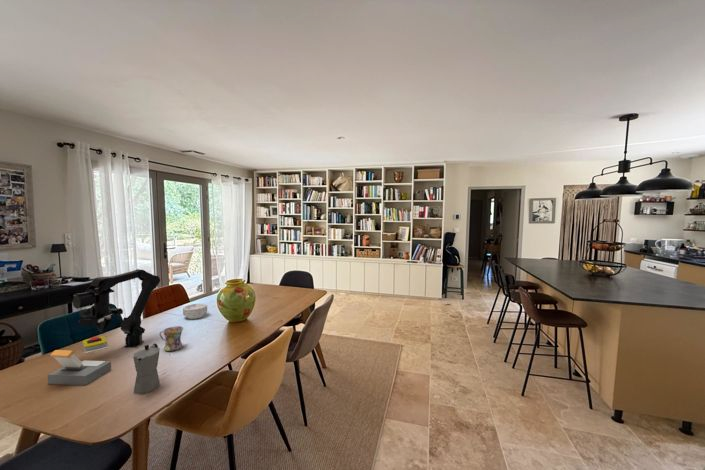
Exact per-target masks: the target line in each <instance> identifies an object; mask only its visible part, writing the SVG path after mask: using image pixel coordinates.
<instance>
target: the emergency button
mask: <svg viewBox="0 0 705 470" xmlns="http://www.w3.org/2000/svg"><path fill="white" fill-rule="evenodd" d="M107 342H108V341H107V339H106V336H105V335H102V336H95V337H92V338H87V339H84V340H82V349H83V354H88V353H92V352H96V351H101V350H104V349H106V350H107V349H108V348H109V347H108V343H107Z"/></svg>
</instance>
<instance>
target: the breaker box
mask: <svg viewBox="0 0 705 470" xmlns="http://www.w3.org/2000/svg"><path fill="white" fill-rule="evenodd" d="M80 361H81V362H82V363H83V367H82V368H65V367H63V366H62V367H60V368H59V369H56V370H55V371H52V372H50V373H48V374H47V385H67V386H68V385H70V386H87V385H88V384H90V383H92V382H93V381H94V382H95V380H97V379H98V378H100V377H102V376H104V375H105V374H107V373H109V372H110V371H111V370H112V362H111V361H105V360H80Z"/></svg>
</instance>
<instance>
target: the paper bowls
mask: <svg viewBox="0 0 705 470" xmlns="http://www.w3.org/2000/svg"><path fill="white" fill-rule="evenodd" d="M207 313H208V304H205V303H193V304H188V305H185V306H183V307H182V315H183V316H185V317H186V318H187V319H189V320H195V319H196V320H197V318H198V319H200V318H203V317H204V315H206V314H207Z"/></svg>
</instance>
